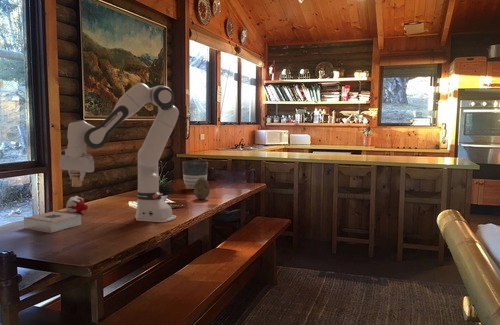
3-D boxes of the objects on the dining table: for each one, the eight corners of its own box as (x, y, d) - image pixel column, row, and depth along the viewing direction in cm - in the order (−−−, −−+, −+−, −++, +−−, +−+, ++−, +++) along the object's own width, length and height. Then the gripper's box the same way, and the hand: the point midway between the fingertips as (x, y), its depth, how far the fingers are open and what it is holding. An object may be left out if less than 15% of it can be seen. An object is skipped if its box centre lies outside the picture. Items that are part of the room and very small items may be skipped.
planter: (206, 191, 316) (206, 163, 314) (180, 191, 316) (180, 162, 314) (209, 187, 335) (209, 160, 333) (184, 187, 336) (184, 160, 333)
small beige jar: (83, 186, 213) (83, 170, 213) (76, 187, 209) (76, 171, 209) (77, 185, 215) (77, 169, 215) (69, 186, 211) (69, 170, 210)
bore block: (81, 224, 210) (81, 214, 210) (51, 232, 194) (50, 221, 193) (55, 220, 217) (54, 210, 217) (24, 228, 201) (23, 217, 201)
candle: (72, 208, 245) (93, 214, 240) (58, 212, 234) (79, 218, 229) (73, 193, 243) (95, 198, 239) (59, 196, 233) (81, 202, 228)
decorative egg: (205, 201, 277) (205, 178, 276) (190, 200, 281) (191, 177, 279) (212, 198, 288) (212, 176, 286) (197, 197, 291) (198, 176, 290)
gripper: (97, 153, 209) (97, 181, 211) (67, 151, 218) (67, 177, 219) (87, 154, 204) (87, 182, 205) (57, 151, 212) (57, 178, 213)
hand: (76, 179), depth 212 cm, fingers closed on small beige jar, 5 cm apart
